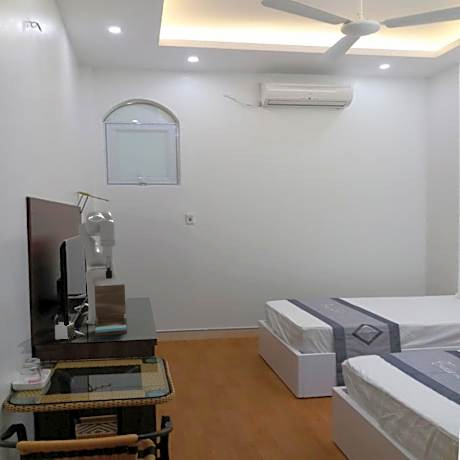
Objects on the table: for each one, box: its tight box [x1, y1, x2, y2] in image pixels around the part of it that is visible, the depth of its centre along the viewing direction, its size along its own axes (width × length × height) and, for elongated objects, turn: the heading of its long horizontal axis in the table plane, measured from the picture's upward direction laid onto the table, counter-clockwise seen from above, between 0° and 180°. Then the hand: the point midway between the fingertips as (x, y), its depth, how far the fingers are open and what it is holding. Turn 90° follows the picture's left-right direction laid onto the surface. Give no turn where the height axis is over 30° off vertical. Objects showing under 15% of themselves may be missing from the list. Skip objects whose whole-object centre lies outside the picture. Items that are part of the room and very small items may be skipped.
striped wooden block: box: [94, 283, 128, 337], centre depth 265 cm, size 15×16×24 cm
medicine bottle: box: [54, 314, 76, 340], centre depth 255 cm, size 7×7×12 cm
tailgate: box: [94, 325, 128, 332], centre depth 252 cm, size 1×15×10 cm
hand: (109, 278), depth 260 cm, fingers closed
